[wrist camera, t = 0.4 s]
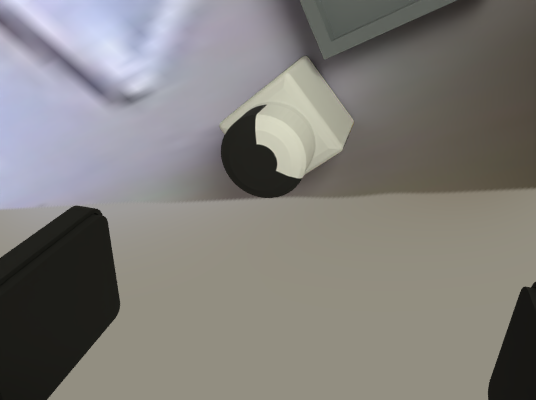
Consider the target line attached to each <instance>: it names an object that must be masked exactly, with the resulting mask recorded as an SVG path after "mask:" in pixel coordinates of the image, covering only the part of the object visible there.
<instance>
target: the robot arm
mask: <svg viewBox="0 0 536 400" xmlns="http://www.w3.org/2000/svg"><path fill="white" fill-rule="evenodd" d="M119 309H120V299H119V293H118V286H117V280H116V273H115V267H114V260H113V253H112V247H111V240H110V234H109V228H108V221H107V219H106V217H104V216H102V213H101V212H100V210H98V209H95V208H89V207H82V206H73V207H71V208H70V209H69V210H67V211H66V212H64V213H63V214H61V215H60V216H59V217H57V218H56V219H54V220H53V221H52V222H50V223H49V224H47V225H46V226H45V227H43V228H42V229H40V230H39V231H38V232H36V233H35V234H33V235H32V236H30V237H29V238H28V239H26V240H25V241H23V242H22V243H21V244H19V245H18V246H16V247H15V248H14V249H12V250H11V251H9V252H8V253H7V254H5V255H4V256H3V257H1V258H0V400H47V399H48V398H49V396H50V395H51V394H52V393H53V392H54V391H55V389H56V388H57V387H58V386H59V384H60V383H61V382H62V381H63V379H65V377H66V376H67V375H68V374H69V373H70V371H71V370H72V369H73V368H74V367H75V365H76V364H77V363H78V362H79V361H80V359H81V358H82V357H83V356H84V354H86V352H87V351H88V350H89V349H90V348H91V346H92V345H93V344H94V343H95V342H96V340H97V339H98V338H99V337H100V336H101V334H102V333H103V332H104V331H105V330H106V328H107V327H108V326H109V325H110V324H111V323H112V321H113V320H114V319H115V318H116V316H117V314H118V312H119ZM488 400H536V282H535V283H534V284H533V285H532V287H531V288H530V287H523V288H522V289H521V292H520V295H519V297H518V300H517V303H516V306H515V309H514V312H513V315H512V318H511V321H510V323H509V327H508V329H507V332H506V335H505V338H504V341H503V344H502V347H501V350H500V353H499V356H498V359H497V362H496V364H495V368H494V370H493V373H492V376H491V379H490V382H489V388H488Z"/></svg>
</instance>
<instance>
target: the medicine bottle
mask: <svg viewBox="0 0 536 400" xmlns="http://www.w3.org/2000/svg"><path fill="white" fill-rule="evenodd" d="M353 123H354V121H353V119H352V117H351V116H350V115H349V113H348V112H347V111H346V109H345V108H344V106H343V105H342V104H341V102H340V101H339V99H338V98H337V97H336V95H335V94H334V92H333V91H332V90H331V88H330V87H329V85H328V84H327V83H326V81H325V80H324V79H323V77H322V76H321V74H320V73H319V72H318V70H317V69H316V67H315V66H314V65H313V63H312V62H311V60H310V59H309V58H308V57H307V56H303V57H302V58H300V59H299V60H298V61H297V62H295V63H294V64H293V65H292V66H290V67H289V68H288V69H287V70H285V71H284V72H283V73H282V74H280V75H279V76H278V77H277V78H275V79H274V80H273V81H271V82H270V83H269V84H268V85H266V86H265V87H264V88H263V89H261V90H260V91H259V92H258V93H256V94H255V95H254V96H253V97H251V98H250V99H249V100H248V101H246V102H245V103H244V104H243V105H241V106H240V107H239V108H238V109H236V110H235V111H234V112H233V113H232V114H230V115H229V116H228V117H227V118H225V119H224V120H223V121H222V122H221V123H220V125H219V127H220V129H221V130H222V132H223V133H224V134H225V135H224V138H223V141H222V145H221V158H222V162H223V165H224V168H225V170H226V172H227V174H228V175H229V177H230V178H231V180H232V181H233V182H234V183H235V184H236V185H237V186H238V187H239V188H241V189H242V190H244V191H245V192H247V193H249V194H252V195H254V196H258V197H263V198H274V197H279V196H282V195H285V194H287V193H289V192H290V191H292V190H293V189H294V188H295V187H296V186H297V185H298V184H299V183H300V181H301V179H302V178H303V176H304V175H305V174H307V173H308V172H310V171H311V170H313V169H315V168H316V167H318V166H319V165H321V164H322V163H324V162H326V161H327V160H329V159H330V158H332V157H334V156H335V155H337V154H338V153H340V152H341V151H342V150H343V148H344V146H345V143H346V141H347V138H348V136H349V133H350V131H351V129H352V126H353Z"/></svg>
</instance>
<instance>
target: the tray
mask: <svg viewBox="0 0 536 400" xmlns="http://www.w3.org/2000/svg"><path fill="white" fill-rule="evenodd" d="M454 1H456V0H300V3H301V5H302V8H303V10H304V12H305V15H306V17H307V20H308V22H309V24H310V27H311V29H312V32H313V34H314V36H315V39H316V41H317V44H318V46H319V49H320V51H321V53H322V56H323V58H324V60H325V59H327V58H330V57H332V56H334V55H336V54H338V53H341V52H343V51H345V50H347V49H350V48H352V47H354V46H356V45H359V44H361V43H363V42H365V41H367V40H370V39H372V38H374V37H376V36H379V35H381V34H383V33H385V32H387V31H390V30H392V29H394V28H396V27H399V26H401V25H403V24H405V23H407V22H410V21H412V20H414V19H416V18H419V17H421V16H423V15H425V14H428V13H430V12H432V11H434V10H436V9H439V8H441V7H443V6H445V5H448V4H450V3H452V2H454Z"/></svg>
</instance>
